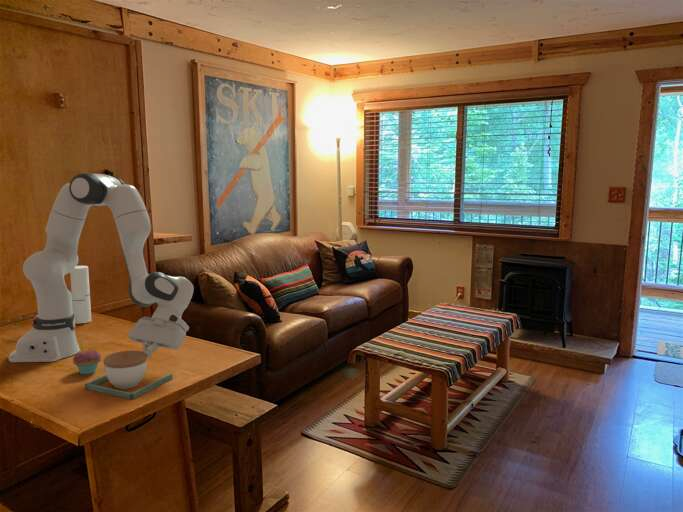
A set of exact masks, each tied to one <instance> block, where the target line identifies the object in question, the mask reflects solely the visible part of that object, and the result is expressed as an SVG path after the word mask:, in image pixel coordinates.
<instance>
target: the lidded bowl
mask: <svg viewBox="0 0 683 512" xmlns="http://www.w3.org/2000/svg"><path fill="white" fill-rule="evenodd" d="M147 359H148V357H147V354H146V353H144V352H142V350H122V351H117V352H114V353H110V354H108V355H106V356H105V357H104V358H103V365H104V373H105V375H106V376H107V379H108V380H107V381H108V382H109V383H110V384H111V385H113V386H114V387H115V389H118V388H119V390H126V389H127V390H128V389H132V388H134V387H135V388H136V387H137V386H138V385H139V384H140V382H141V381H142V380H143V379H144V378H145V375H146V372H147V367H148V365H147V363H148V361H147Z"/></svg>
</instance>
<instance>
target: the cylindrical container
mask: <svg viewBox="0 0 683 512" xmlns="http://www.w3.org/2000/svg"><path fill="white" fill-rule="evenodd" d="M69 274H70V275H69V276H70V289H71V291H70V292H71V295H72V309H73V314H74V318H75V323H87V322H90V321H91V322H92V311H91V310H92V308H91V307H92V306H91V295H90V294H91V293H90V291H91V289H90V288H91V287H90V273H89V266H88V265H77V266H76V267H75V268H74V269H73V270H72V271H71V272H70V273H69Z"/></svg>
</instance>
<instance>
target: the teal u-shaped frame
mask: <svg viewBox="0 0 683 512" xmlns="http://www.w3.org/2000/svg"><path fill="white" fill-rule="evenodd" d="M173 375H174V374H173V373H169V374H167V375H165V376H162V377H160V378H159V379H157V380H155V381H153V382H151V383H149V384H147V385H146V386H143V387H142V388H139V389H137V390H135V391H134V392H129V391H128V392H127V391H123V390H121V389H119V390H118V389H116V388H115V389H113V388H110V387H107V386H101V385H100V384H102V383H104V382H107V381H109V380H108V379H107V376H106V374H105V375H103V376H101V377H98V378H96V379H94V380H91V381H90V382H87V383H85V384H84V385H85V389H86V390H91V391H93V392H98V393H103V394H106V395H107V394H108V395H112V396H115V397H120V398H123V399H127V400H134V399H136V398H138V397H140V396H141V395H144V394H146V393H147V392H149V391H152V390H154V389H155V388H156V387H159V386H160V384H161V385H162V383H163V384H164V383H166V382H168V381H170V380H172V379H173ZM106 380H107V381H106ZM143 393H144V394H143Z"/></svg>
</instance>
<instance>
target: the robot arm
mask: <svg viewBox="0 0 683 512" xmlns="http://www.w3.org/2000/svg"><path fill="white" fill-rule="evenodd" d="M145 204H146V203H144V200H143V198H142V196H141V194H140V192H139V191H138V189H137V188H136V187H135V186H134V185H131V184H127V183H125V182H124V181H123V180H122V179H121V178H120V177H117V176H113V175H108V174H105V173H91V172H82V173H78V174H76V175H75V176H73V177H72V178H71V180H70V182H68V183H66V184H63V186H62V187H61V188H60V190H59V192H58V193H57V195H56V198H55V200H54V202H53V204H52V208H51V211H50V212H49V213H50V214H49V216H48V218H47V219H48V220H47V222H46V226H45V233H46V244H45V248H43V250H41V251H40V250H39V251H36V252H34V253H32V254H31V255H30V256H29V257H28V258H27V259H25V261H24V262H23V265H22V273H23V274H24V276H25V278H26V279H28V280H29V281H30V283H31V285H32V288H33V290H34V293H35V298H36V304H37V305H36V307H37V314H36V315H34V317H33V319H32V320H31V321H32V322H31V326H32V328H31V329H29V330H28V331H27V332H26V333H24V334H23V335H22V336H21V337H20V338H19V339H18V340H17V342H16V345H15V350H13V351H11V352H10V354H9V355H8V362H9V363H39V362H41V363H42V362H43V363H45V362H46V363H48V362H49V363H50V362H56V361H59V360H61V359H64V358H68V357H71V356H75V355H77V354H78V353H80V352H81V347H80V345H79V343H78V340H77V336H76V330H75V329H76V325H75V318H74V314H73V308H72V292H71V291H70V290H69V289H68V287H67V284H66V282H65V276H67V275H68V274H70V272H71V271H72V270H73V269H74V268H75V267H76V266H78V264H79V256H78V251H79V249H78V248H79V241H80V236H81V233H82V232H83V227H84V225H85V222H86V219H87V216H88V212H89V210H90V208H91V207H92V206H96V207H97V206H98V207H100V206H101V207H102V206H107V207H108V208H109V210H110V211H111V213H112V216H113V220H114V222H115V225H116V229H117V232H118V237H119V240H120V243H121V250H122V254H123V255H122V256H123V259H124V263H125V266H126V269H127V274H128V279H129V280H128V281H129V286H128V295H129V298H130V300H131V301H132V302H133V303H134V304H135V305H136V306H138V307H142V308H143V307H144V308H146V307H150V306H152V305H153V304H155V303H156V304H157V307H156V309H155V311H154V312H153V314H152V315H151V317H150V316H143V317H141V318H139V319H138V320H137V321H136V322H135V323H134V325H133V326H132V328H131V329H130V330H129V332H128V338H129V339H130V340H131V341H132V342H135V343H141V344H142V350H141V351H142V352H144V353H146V354H147V358H151V357H152V355H153V354H154V353H155V352H156V351H158V349H159V348H160V347H161V348H166V349H172V350H178V349H179V348H180V349H181V347H182V345H183V343H184V341H185V339H186V336H187V333H186V332H188V331H189V329H190V326H189V325H188V324H187V322H185V321H184V320H183V319H182V316H183V313H184V311H185V310H186V309H187V308H188V306H189V304H190V302H191V300H192V298H193V295H194V290H195V289H194V287H195V286H194V284H193V283H192V282H191V281H190V280H189V278H186V277H185V276H181V275H180V276H178V275H177V276H171V275H167V274H165V273H164V272H160V271H154V272H151V273H149V274H148V269H147V266H146V261H145V258H144V246H145V244H146V241H147V239H148V237H149V235H150V234H151V231H152V225H151V219H150V216H149V213H148V210H147V207H146V205H145Z"/></svg>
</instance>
